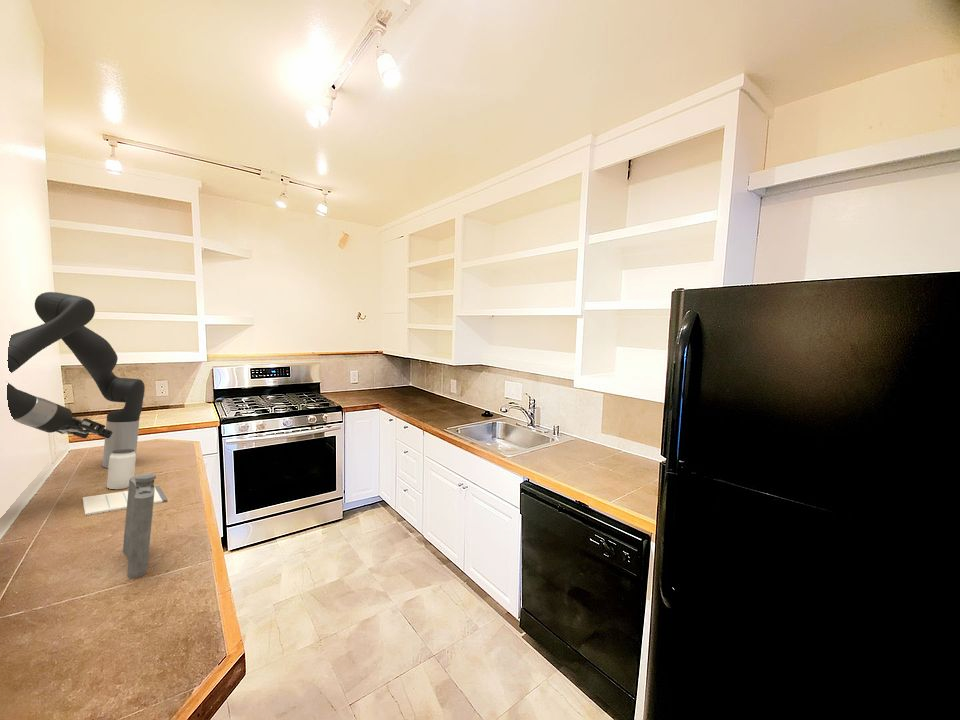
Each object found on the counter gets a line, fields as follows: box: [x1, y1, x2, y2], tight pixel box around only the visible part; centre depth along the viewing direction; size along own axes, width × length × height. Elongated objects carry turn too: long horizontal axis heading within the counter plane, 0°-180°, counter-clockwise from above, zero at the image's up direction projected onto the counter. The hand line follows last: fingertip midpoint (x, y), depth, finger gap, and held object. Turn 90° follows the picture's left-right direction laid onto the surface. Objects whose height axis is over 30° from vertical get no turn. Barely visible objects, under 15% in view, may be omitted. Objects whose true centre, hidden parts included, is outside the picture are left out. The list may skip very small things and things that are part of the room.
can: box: [106, 449, 137, 491], centre depth 127 cm, size 6×6×12 cm
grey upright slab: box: [122, 473, 156, 579], centre depth 89 cm, size 16×4×20 cm, turn 46°
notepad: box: [82, 485, 168, 517], centre depth 118 cm, size 14×18×1 cm
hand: (98, 435), depth 119 cm, fingers open, 8 cm apart
